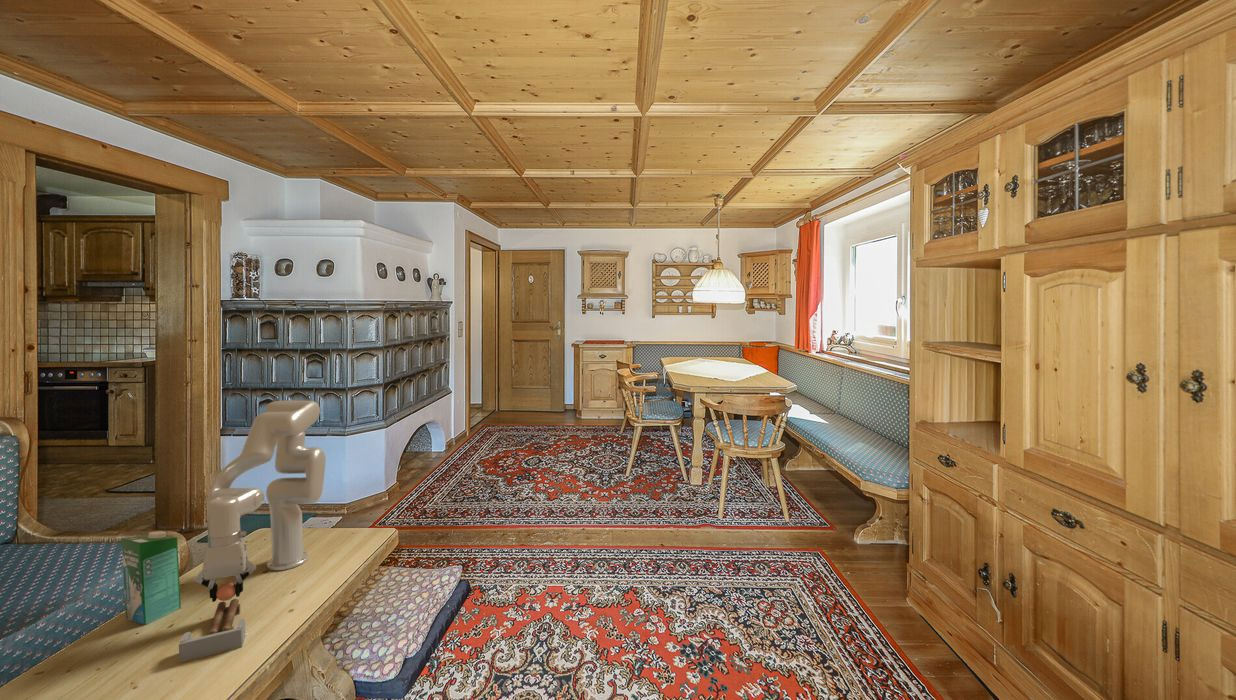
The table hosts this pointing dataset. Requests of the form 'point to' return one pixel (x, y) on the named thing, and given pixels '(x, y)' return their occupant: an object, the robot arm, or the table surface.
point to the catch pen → (211, 643)
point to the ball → (226, 591)
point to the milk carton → (150, 576)
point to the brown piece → (224, 612)
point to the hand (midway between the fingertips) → (226, 596)
